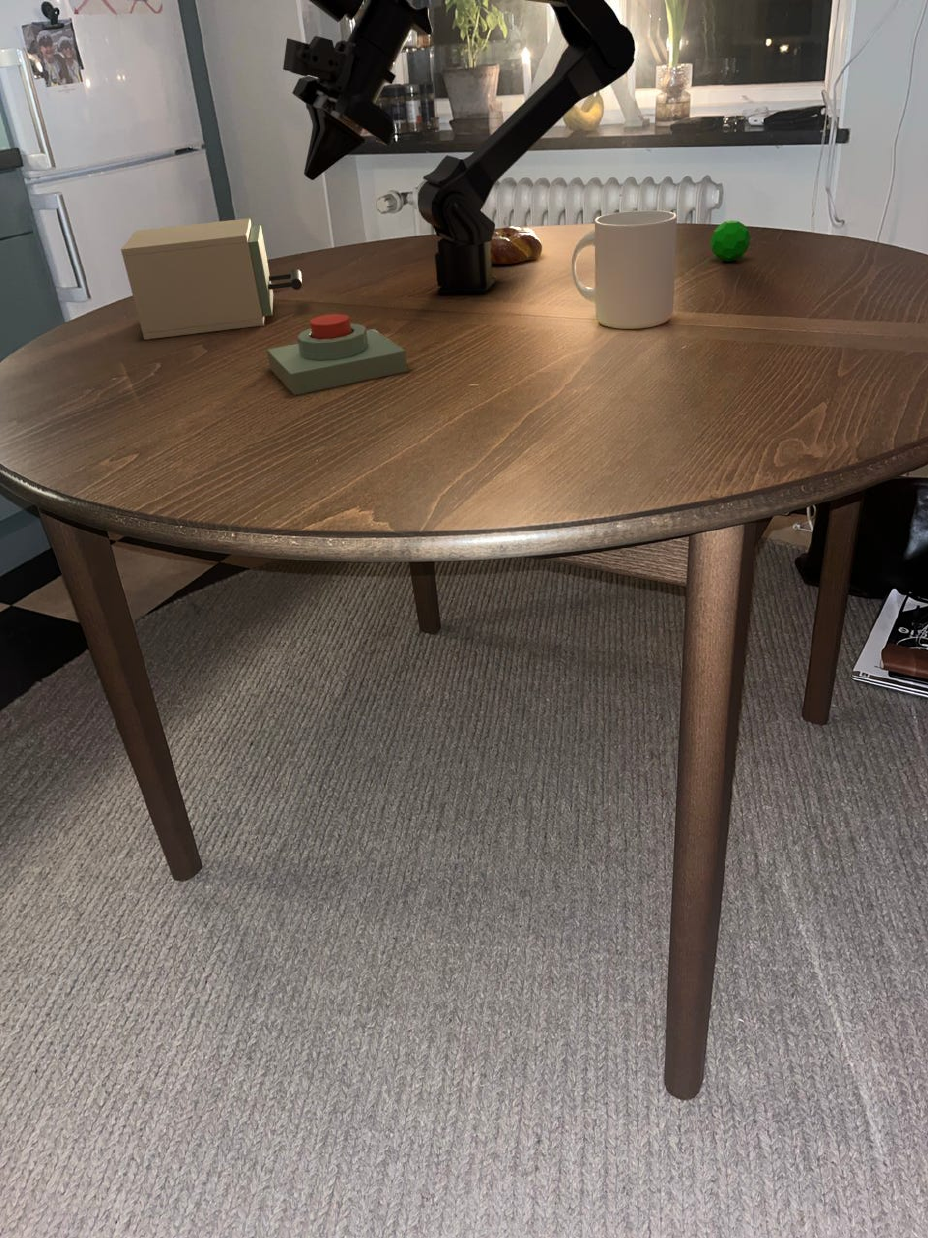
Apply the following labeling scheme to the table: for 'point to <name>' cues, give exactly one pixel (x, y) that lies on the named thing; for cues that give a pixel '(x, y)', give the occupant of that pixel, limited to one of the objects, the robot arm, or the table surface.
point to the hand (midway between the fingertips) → (308, 177)
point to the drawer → (263, 274)
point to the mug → (631, 268)
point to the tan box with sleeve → (193, 278)
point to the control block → (336, 360)
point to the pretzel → (514, 246)
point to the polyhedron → (730, 240)
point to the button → (330, 326)
